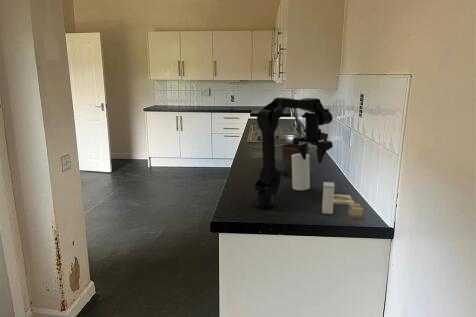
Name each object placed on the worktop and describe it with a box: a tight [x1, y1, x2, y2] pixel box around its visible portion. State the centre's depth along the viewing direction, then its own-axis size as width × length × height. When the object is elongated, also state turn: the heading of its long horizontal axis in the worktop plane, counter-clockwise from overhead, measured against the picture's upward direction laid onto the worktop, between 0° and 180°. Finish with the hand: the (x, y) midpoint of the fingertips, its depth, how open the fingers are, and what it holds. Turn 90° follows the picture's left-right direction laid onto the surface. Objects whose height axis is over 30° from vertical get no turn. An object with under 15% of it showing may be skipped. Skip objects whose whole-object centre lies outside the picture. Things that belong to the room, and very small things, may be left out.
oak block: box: [347, 203, 364, 220], centre depth 137 cm, size 6×4×4 cm, turn 176°
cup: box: [291, 153, 311, 191], centre depth 169 cm, size 8×8×16 cm
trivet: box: [333, 194, 356, 205], centre depth 154 cm, size 10×10×1 cm
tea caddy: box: [321, 181, 336, 215], centre depth 141 cm, size 4×6×11 cm
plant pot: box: [280, 143, 310, 177], centre depth 192 cm, size 15×15×16 cm
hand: (312, 161), depth 159 cm, fingers open, 9 cm apart
